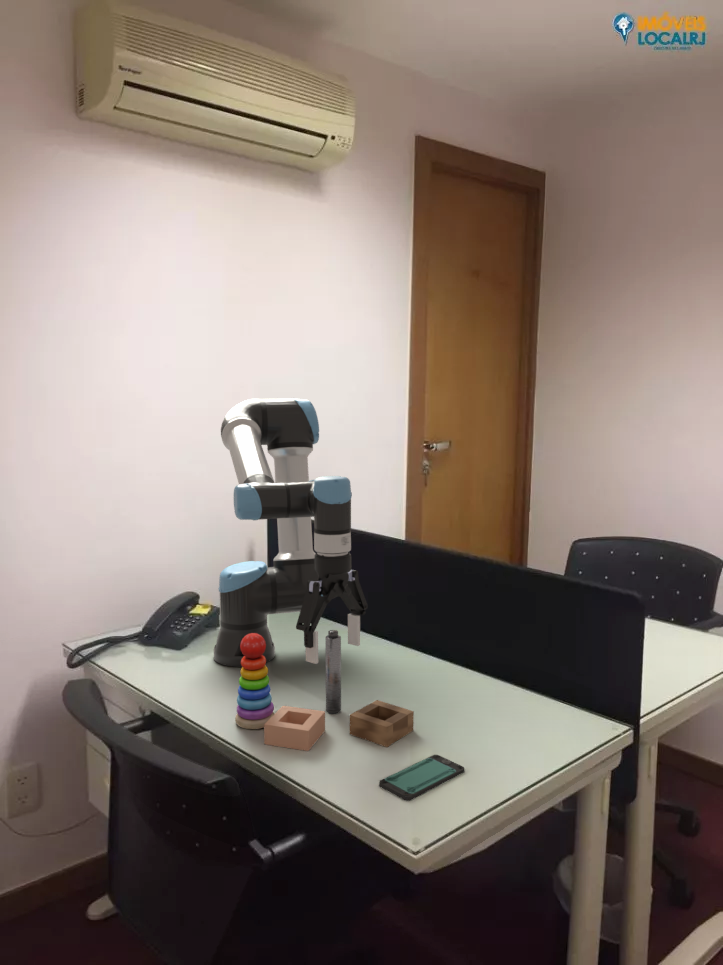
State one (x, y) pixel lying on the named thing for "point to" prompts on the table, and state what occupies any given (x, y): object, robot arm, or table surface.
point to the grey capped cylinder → (333, 672)
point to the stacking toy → (253, 685)
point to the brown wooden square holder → (381, 723)
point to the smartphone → (421, 777)
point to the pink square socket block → (294, 728)
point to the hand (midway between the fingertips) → (333, 653)
